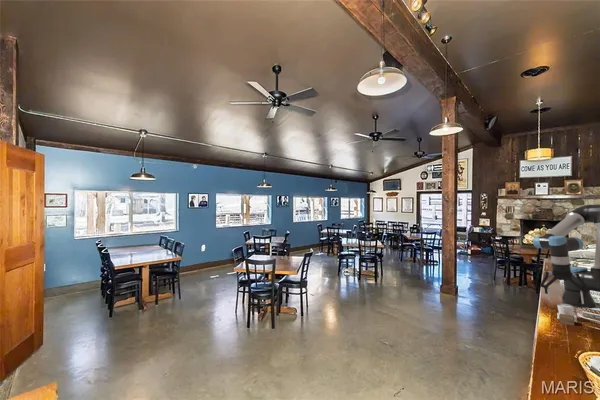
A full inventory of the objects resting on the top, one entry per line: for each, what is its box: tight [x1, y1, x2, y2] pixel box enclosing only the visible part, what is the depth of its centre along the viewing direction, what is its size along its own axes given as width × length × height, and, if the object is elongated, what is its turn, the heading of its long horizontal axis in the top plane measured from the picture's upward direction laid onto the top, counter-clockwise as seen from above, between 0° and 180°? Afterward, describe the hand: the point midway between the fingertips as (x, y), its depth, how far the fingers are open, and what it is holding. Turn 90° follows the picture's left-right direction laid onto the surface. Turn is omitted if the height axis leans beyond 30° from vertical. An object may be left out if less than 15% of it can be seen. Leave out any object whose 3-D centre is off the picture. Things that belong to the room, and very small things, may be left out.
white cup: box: [556, 303, 575, 316], centre depth 155 cm, size 7×7×7 cm
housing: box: [558, 314, 575, 326], centre depth 149 cm, size 6×6×4 cm
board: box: [556, 312, 578, 322], centre depth 156 cm, size 11×8×1 cm
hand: (565, 301), depth 155 cm, fingers open, 13 cm apart
